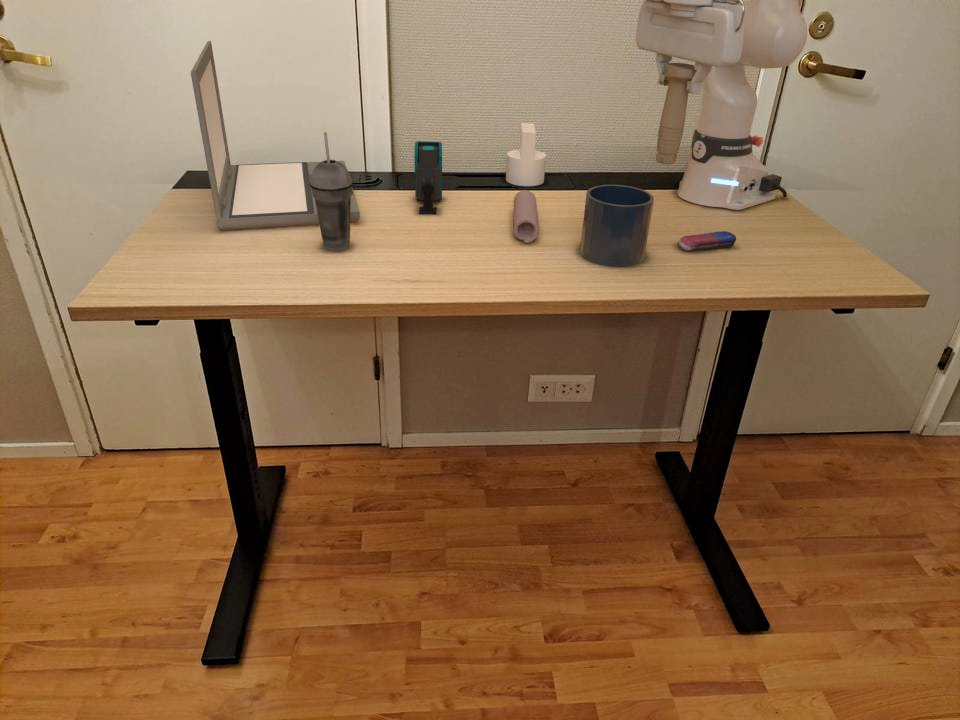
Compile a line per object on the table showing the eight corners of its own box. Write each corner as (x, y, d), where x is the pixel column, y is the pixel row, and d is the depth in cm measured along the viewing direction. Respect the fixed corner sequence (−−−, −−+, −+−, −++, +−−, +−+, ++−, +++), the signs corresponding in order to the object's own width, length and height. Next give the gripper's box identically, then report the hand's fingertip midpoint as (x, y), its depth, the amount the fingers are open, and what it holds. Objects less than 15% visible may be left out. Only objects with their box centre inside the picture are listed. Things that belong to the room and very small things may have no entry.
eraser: (685, 253, 128) (687, 244, 127) (674, 244, 132) (675, 235, 131) (738, 246, 131) (740, 237, 130) (725, 238, 134) (727, 229, 133)
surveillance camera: (412, 154, 135) (414, 141, 143) (413, 213, 141) (415, 197, 150) (441, 154, 135) (442, 141, 144) (441, 214, 141) (442, 198, 150)
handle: (673, 157, 119) (690, 63, 111) (685, 168, 114) (704, 70, 106) (645, 156, 119) (661, 62, 111) (656, 167, 113) (673, 69, 105)
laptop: (360, 224, 135) (350, 68, 120) (217, 233, 129) (188, 70, 114) (345, 171, 164) (335, 40, 149) (227, 176, 158) (205, 40, 143)
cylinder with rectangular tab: (545, 186, 159) (549, 133, 153) (506, 185, 159) (508, 132, 153) (542, 175, 167) (546, 123, 160) (505, 173, 167) (507, 122, 160)
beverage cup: (322, 257, 121) (311, 141, 111) (311, 242, 127) (299, 130, 116) (362, 250, 124) (355, 137, 114) (349, 236, 130) (341, 127, 119)
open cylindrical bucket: (618, 238, 134) (626, 181, 128) (657, 260, 125) (667, 201, 119) (567, 246, 129) (573, 189, 123) (604, 270, 120) (612, 209, 114)
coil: (541, 221, 127) (538, 190, 143) (515, 218, 127) (515, 187, 142) (536, 245, 130) (534, 212, 145) (511, 241, 130) (511, 209, 145)
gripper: (764, -4, 96) (741, 100, 103) (667, -15, 111) (652, 76, 119) (730, -4, 94) (709, 103, 101) (635, -15, 109) (623, 78, 116)
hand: (678, 88), depth 110 cm, fingers closed on handle, 5 cm apart
